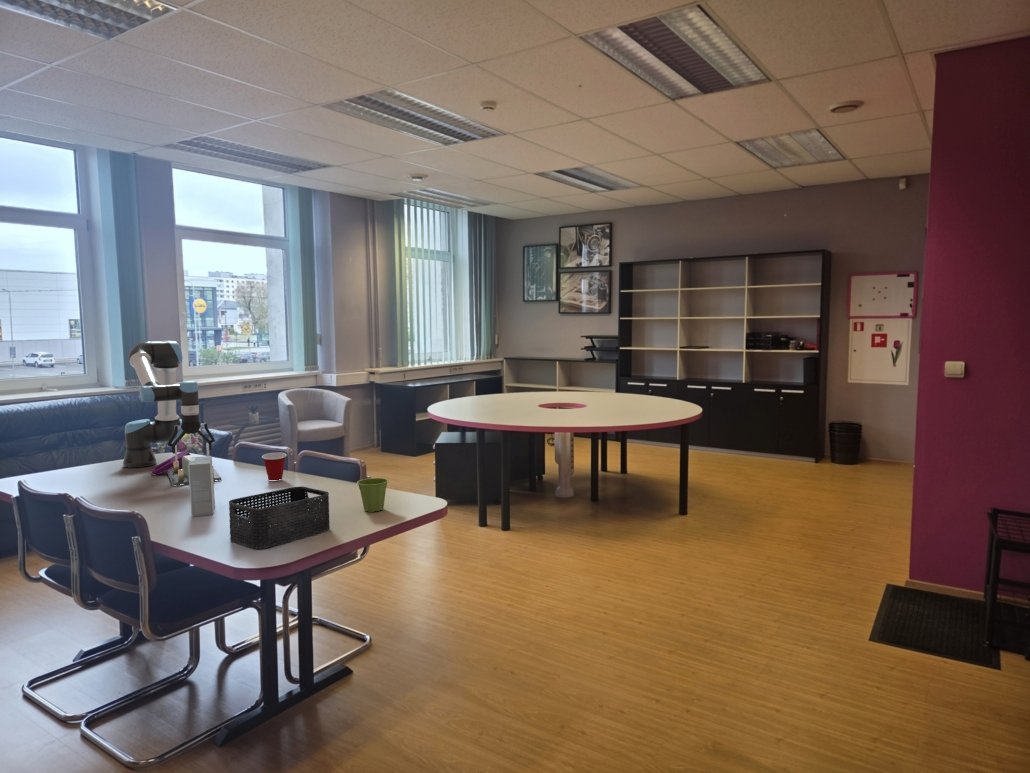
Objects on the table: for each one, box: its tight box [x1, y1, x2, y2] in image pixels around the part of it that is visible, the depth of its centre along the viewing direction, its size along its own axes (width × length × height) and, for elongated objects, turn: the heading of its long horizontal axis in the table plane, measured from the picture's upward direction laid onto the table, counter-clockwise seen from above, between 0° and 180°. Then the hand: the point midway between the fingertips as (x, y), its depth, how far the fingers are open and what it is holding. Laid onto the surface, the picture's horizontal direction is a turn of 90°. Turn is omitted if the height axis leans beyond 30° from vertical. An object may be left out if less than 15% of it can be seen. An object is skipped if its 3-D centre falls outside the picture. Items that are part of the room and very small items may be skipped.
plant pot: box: [356, 477, 389, 513], centre depth 254 cm, size 12×12×11 cm
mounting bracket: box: [150, 449, 191, 475], centre depth 329 cm, size 10×8×18 cm
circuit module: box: [182, 454, 199, 477], centre depth 315 cm, size 16×6×8 cm, turn 38°
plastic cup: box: [261, 452, 288, 481], centre depth 307 cm, size 11×11×12 cm
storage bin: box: [228, 486, 331, 550], centre depth 224 cm, size 29×19×13 cm
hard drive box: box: [188, 455, 216, 518], centre depth 255 cm, size 16×8×20 cm, turn 22°
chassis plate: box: [166, 461, 222, 486], centre depth 315 cm, size 30×20×6 cm, turn 32°
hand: (192, 458), depth 315 cm, fingers open, 13 cm apart
